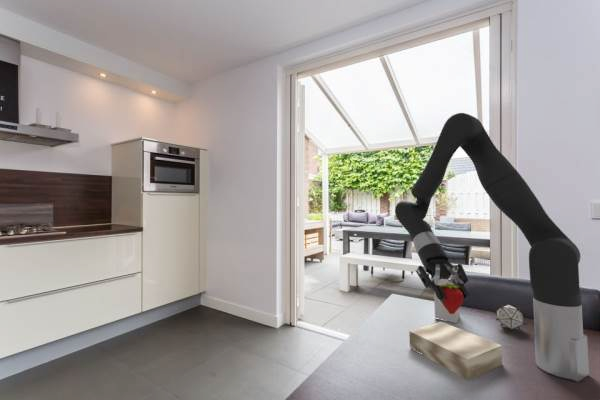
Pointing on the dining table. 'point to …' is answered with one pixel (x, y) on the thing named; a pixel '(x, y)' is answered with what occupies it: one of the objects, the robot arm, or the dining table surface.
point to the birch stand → (456, 349)
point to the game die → (510, 316)
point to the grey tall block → (441, 310)
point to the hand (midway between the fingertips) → (454, 299)
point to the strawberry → (452, 297)
